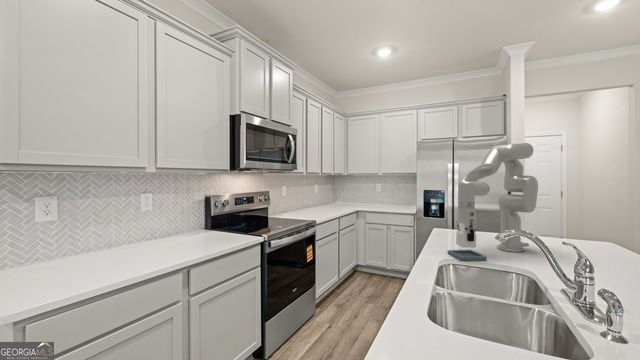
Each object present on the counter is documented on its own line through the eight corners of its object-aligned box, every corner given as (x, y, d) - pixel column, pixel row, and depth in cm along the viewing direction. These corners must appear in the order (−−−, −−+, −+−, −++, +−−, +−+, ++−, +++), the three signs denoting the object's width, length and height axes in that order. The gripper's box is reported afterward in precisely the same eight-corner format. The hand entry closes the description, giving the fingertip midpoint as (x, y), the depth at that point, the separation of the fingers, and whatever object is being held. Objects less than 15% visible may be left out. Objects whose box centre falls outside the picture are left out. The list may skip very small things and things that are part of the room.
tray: (470, 253, 148) (470, 249, 148) (486, 260, 135) (486, 256, 135) (447, 253, 148) (447, 250, 148) (461, 261, 135) (461, 257, 135)
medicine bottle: (469, 244, 145) (470, 221, 145) (476, 247, 137) (476, 224, 137) (455, 244, 145) (456, 221, 145) (461, 247, 138) (461, 223, 138)
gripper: (484, 207, 133) (483, 243, 133) (463, 204, 150) (463, 235, 150) (469, 207, 133) (468, 243, 133) (450, 203, 150) (449, 235, 150)
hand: (465, 239), depth 141 cm, fingers closed on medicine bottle, 7 cm apart
